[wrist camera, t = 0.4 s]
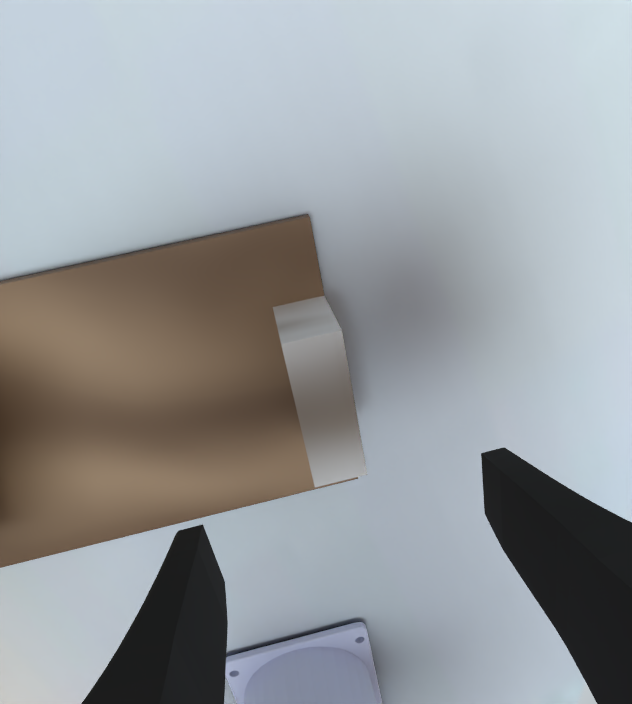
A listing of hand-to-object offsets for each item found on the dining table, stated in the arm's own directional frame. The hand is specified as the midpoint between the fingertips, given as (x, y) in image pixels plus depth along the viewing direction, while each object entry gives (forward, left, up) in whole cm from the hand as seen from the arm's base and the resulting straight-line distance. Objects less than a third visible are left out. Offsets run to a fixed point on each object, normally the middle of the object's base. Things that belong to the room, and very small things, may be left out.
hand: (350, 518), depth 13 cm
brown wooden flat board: (0, +10, -9) cm, 13 cm away
